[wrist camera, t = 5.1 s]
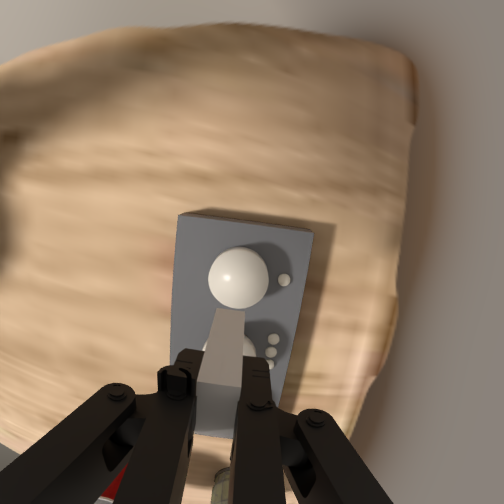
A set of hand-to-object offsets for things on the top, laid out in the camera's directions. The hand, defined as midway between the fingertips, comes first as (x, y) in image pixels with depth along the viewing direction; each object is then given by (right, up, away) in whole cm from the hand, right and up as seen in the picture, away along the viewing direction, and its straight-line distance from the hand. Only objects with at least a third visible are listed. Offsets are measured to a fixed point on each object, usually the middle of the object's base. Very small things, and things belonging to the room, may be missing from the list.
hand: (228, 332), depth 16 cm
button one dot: (0, +3, +13) cm, 13 cm away
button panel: (-1, -4, +15) cm, 16 cm away
